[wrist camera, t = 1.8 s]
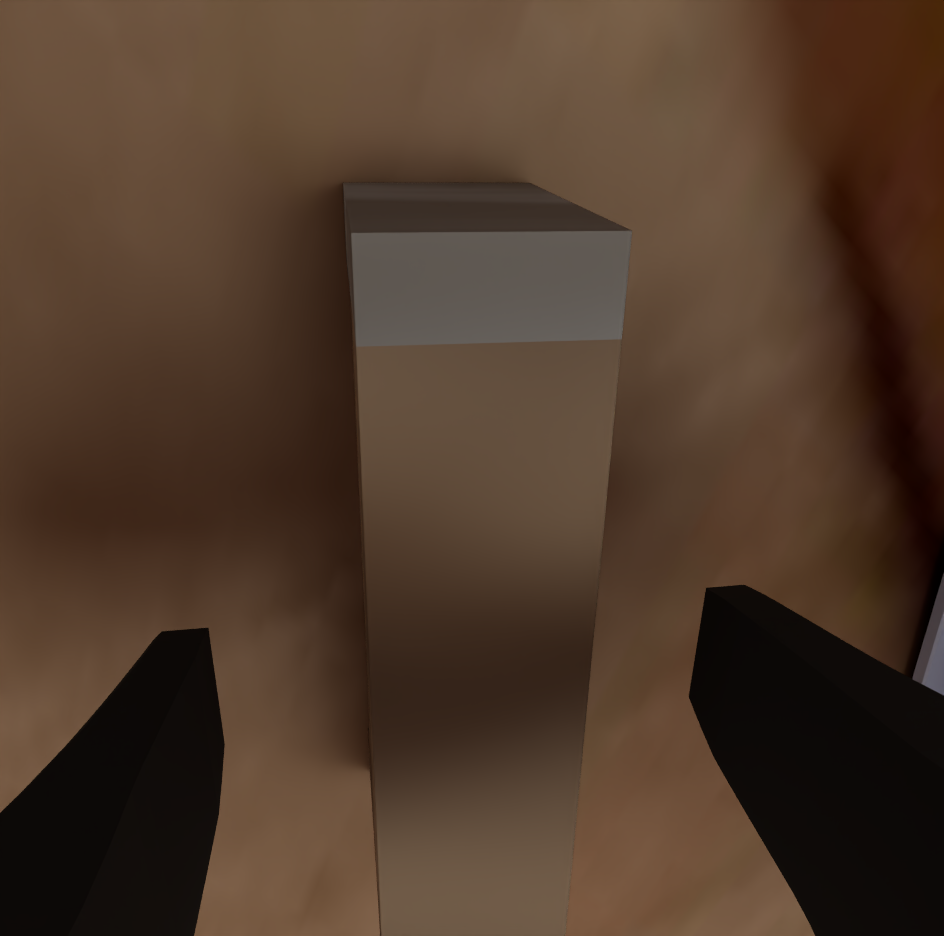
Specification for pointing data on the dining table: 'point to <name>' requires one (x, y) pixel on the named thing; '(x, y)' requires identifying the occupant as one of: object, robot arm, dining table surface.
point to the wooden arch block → (480, 536)
